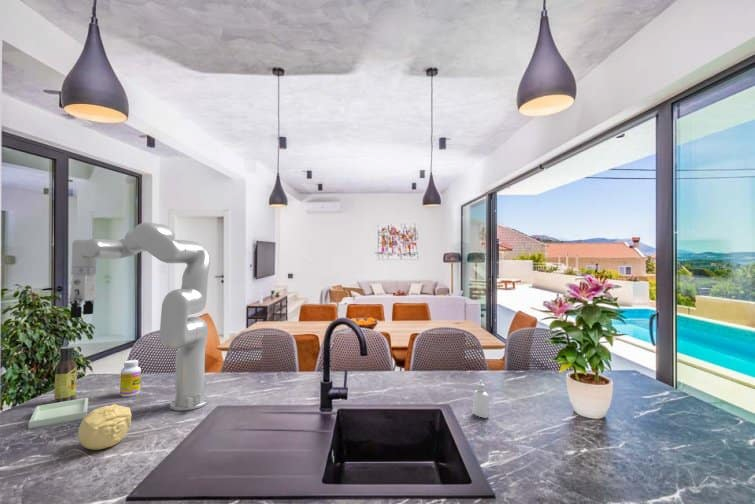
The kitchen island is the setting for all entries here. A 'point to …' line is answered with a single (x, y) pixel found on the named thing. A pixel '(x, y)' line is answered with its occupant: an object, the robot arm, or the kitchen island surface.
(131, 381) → the supplement bottle
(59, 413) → the tray
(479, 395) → the eye dropper bottle
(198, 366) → the robot arm
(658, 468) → the kitchen island surface
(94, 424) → the sculpture
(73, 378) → the sauce bottle
